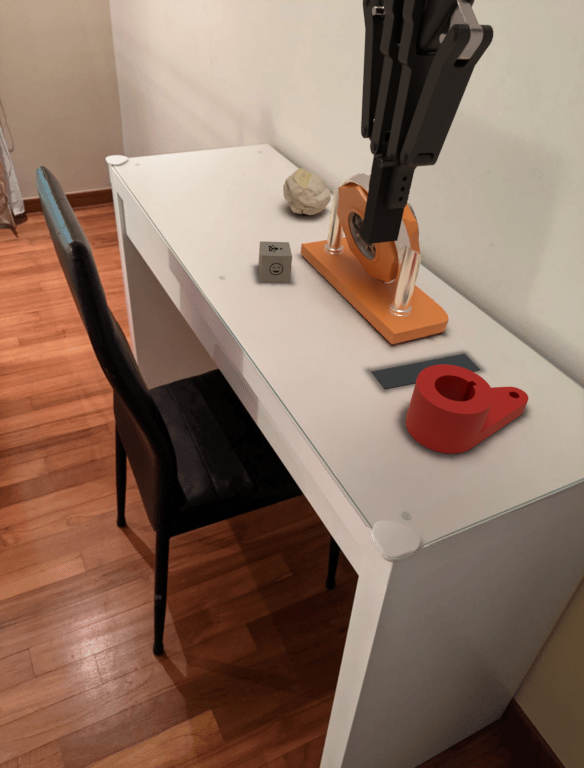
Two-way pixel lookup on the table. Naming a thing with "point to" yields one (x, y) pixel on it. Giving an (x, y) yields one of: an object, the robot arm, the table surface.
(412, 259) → the desk clock
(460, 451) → the lever
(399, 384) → the strip
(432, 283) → the table surface
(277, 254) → the dice cube
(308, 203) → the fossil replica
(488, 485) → the table surface
